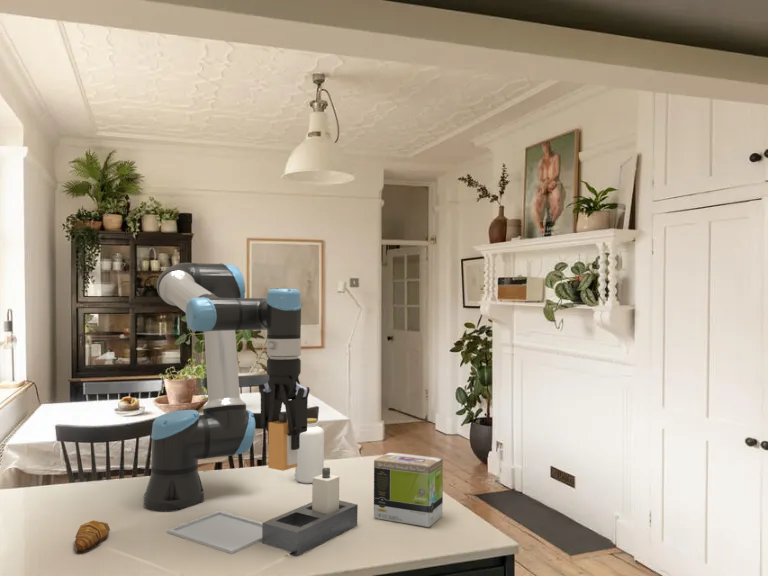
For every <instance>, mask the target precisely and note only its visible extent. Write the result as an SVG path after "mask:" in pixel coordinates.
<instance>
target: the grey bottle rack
mask: <svg viewBox="0 0 768 576" xmlns="http://www.w3.org/2000/svg"><path fill="white" fill-rule="evenodd" d="M358 510H359V508H358V504H357V503H352V502H348V501H344V500H340V499H339V510H337V511H335V512H333V513H330V514H324V513H320V512H316V511H312V501H311V502H309V503H307V504H304V505H302V506H299V507H297V508H294V509H292V510H290V511H287V512H285V513H282V514H280V515H278V516H275V517H273V518H271V519H268V520H265V521H263V523H262V541H261V543H262V544H264V545H267V546H271V547H274V548H276V549H277V548H278V549H281V550H283V551H286V552H288V554H289V555H291V556H295V557H299V556H300V555H302V554H304V553H306V552H309V551H311V550H312V549H315V548H316V547H318V546H320V545H322V544H324V543H326V542H328V541H330V540H332V539H333V538H335V537H336V538H337V536H340V535H341V534H344V533H345V532H348V531H350V530H352V529H354V528H355V527H357V526H358V513H359V512H358Z"/></svg>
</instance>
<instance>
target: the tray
mask: <svg viewBox="0 0 768 576" xmlns="http://www.w3.org/2000/svg"><path fill="white" fill-rule="evenodd" d="M263 522H264V521H263ZM263 522H262V521H259V520H257V519H252V518H249V517H244V516H240V515H238V514H234V513H230V512H227V511H224V510H216V511H214V512H211V513H209V514H205V515H203V516H200V517H197V518H195V519H193V520H190V521H186V522H184V523H181V524H178V525H175V526H173V527H171V528H168V529H166V530H165V531H166V534H169V535H172V536H176V537H178V538H181V539H183V540H187V541H190V542H194V543H197V544H200V545H203V546H206V547H209V548H212V549H214V550H217V551H220V552H224V553H227V554H230V555H233V554H236V553H238V552H240V551H242V550H244V549H247V548H249V547H252V546H253V545H256V544H258V543H260V542H262V523H263Z"/></svg>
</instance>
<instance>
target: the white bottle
mask: <svg viewBox="0 0 768 576" xmlns="http://www.w3.org/2000/svg"><path fill="white" fill-rule="evenodd" d="M318 424H319V423H318V419H317V418H315V417H314V418H313V417H307V431H306V432H303V433H301V434H300V447H299V449H298V463H297V467H294V468H295V469H294V471H295V473H294V479H296V481H297V482H299V483H302V484H313V478H314V477H316V476H319V475H322V469H323V468H325V467H324V464H325V462H324V461H325V460H324V459H325V458H324V457H325V453H324V452H325V430H324V429H323V427H320V426H319V425H318Z"/></svg>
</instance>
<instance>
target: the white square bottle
mask: <svg viewBox="0 0 768 576" xmlns="http://www.w3.org/2000/svg"><path fill="white" fill-rule="evenodd" d="M311 492H312V494H311V495H312V496H311V498H312V499H311V500H312V501H311V502H312V511H316V512H320V513H324V514H330V513H333V512H335V511H337V510H339V500H340V476H339V475H338V476H337V475H334V474H331V468H330V467H324V468H323V469H322V475H319V476H316V477H314V478H313V483H312V491H311Z"/></svg>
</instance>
